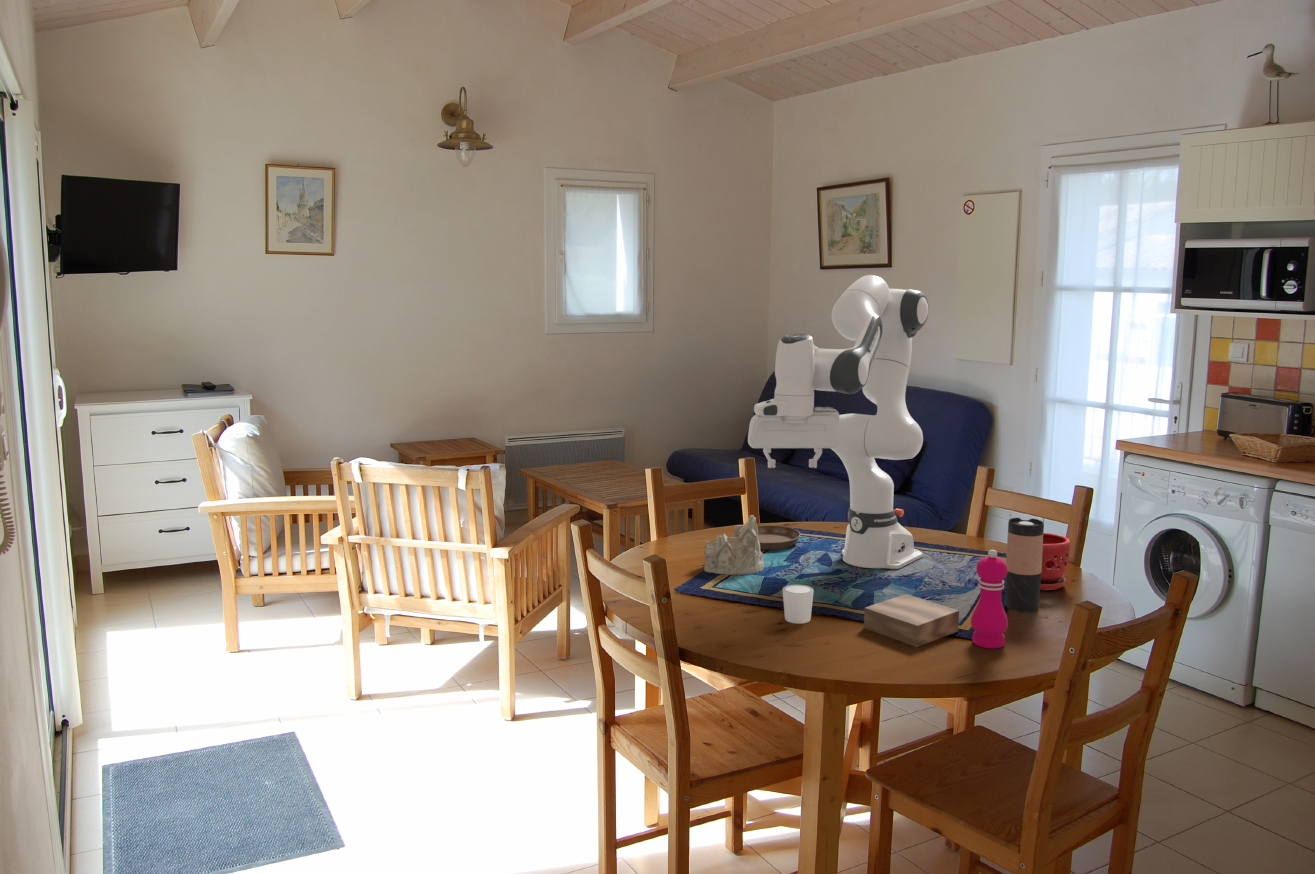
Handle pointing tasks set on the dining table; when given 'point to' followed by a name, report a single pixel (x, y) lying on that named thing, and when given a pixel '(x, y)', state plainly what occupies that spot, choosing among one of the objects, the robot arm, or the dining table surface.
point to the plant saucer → (776, 537)
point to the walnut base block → (911, 620)
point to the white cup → (797, 603)
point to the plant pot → (1054, 561)
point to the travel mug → (1023, 564)
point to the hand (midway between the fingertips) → (792, 467)
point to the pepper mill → (990, 603)
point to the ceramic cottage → (735, 551)
